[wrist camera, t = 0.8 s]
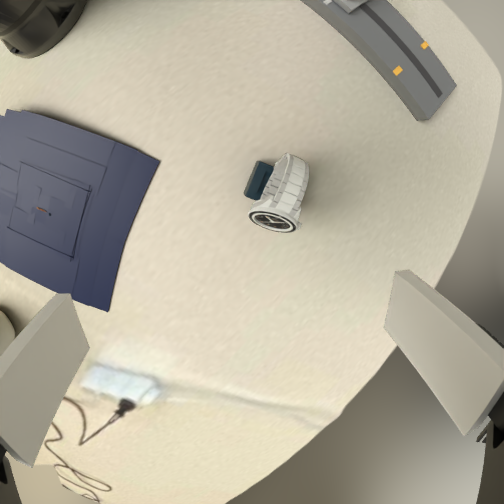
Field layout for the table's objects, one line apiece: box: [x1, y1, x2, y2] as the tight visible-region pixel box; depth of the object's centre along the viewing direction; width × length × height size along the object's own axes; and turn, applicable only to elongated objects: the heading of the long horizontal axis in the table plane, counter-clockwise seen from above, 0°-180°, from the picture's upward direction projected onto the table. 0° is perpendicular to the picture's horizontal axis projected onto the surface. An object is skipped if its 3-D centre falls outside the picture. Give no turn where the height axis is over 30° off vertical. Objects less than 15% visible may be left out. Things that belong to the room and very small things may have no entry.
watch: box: [244, 153, 309, 233], centre depth 29 cm, size 6×8×11 cm
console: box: [301, 0, 457, 121], centre depth 26 cm, size 26×10×3 cm, turn 47°
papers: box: [0, 109, 160, 312], centre depth 31 cm, size 24×30×4 cm
